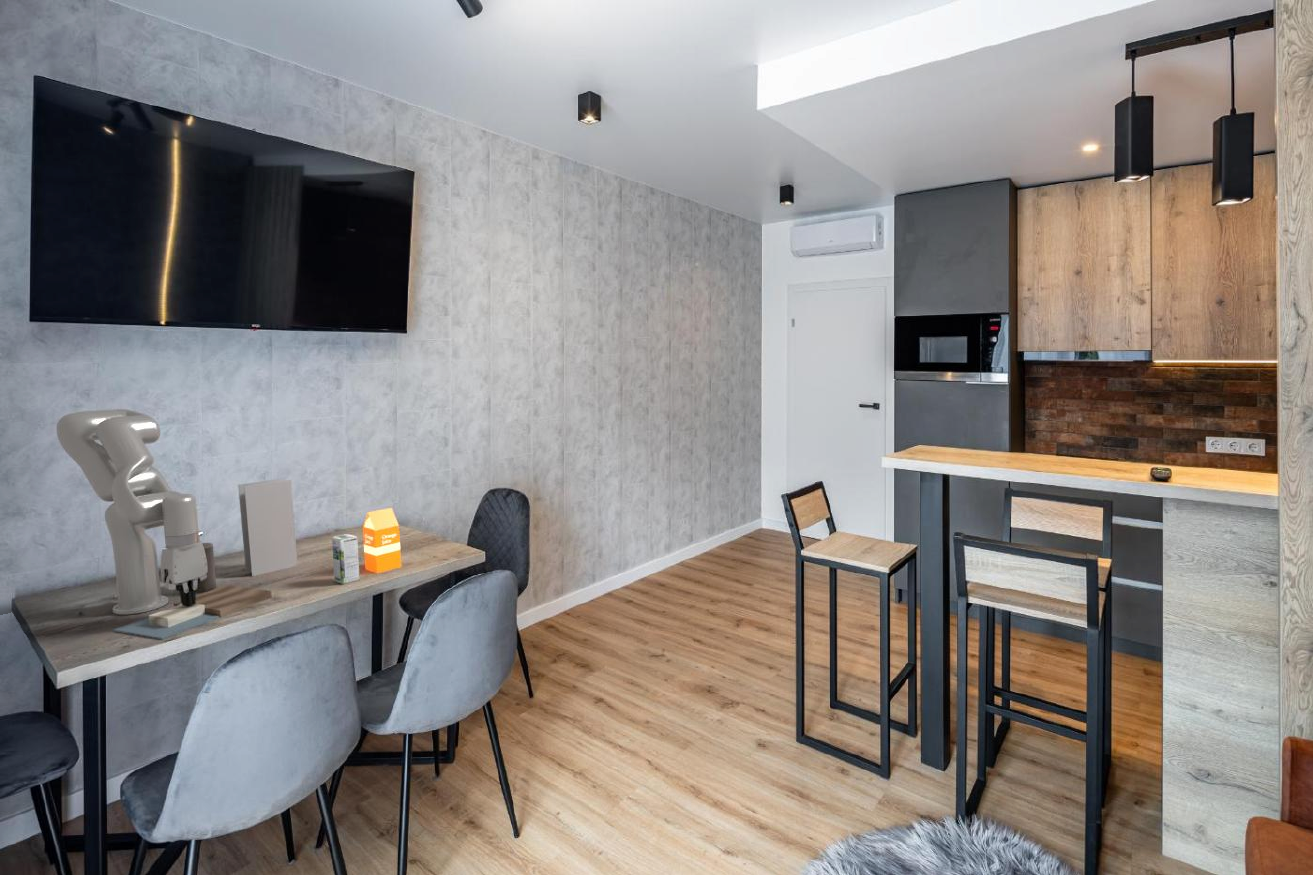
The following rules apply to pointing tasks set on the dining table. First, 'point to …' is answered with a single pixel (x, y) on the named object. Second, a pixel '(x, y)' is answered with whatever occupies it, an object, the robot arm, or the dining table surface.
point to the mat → (160, 631)
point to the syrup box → (345, 558)
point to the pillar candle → (210, 581)
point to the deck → (229, 599)
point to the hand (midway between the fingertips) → (188, 604)
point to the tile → (176, 615)
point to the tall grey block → (267, 526)
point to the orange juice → (381, 541)
